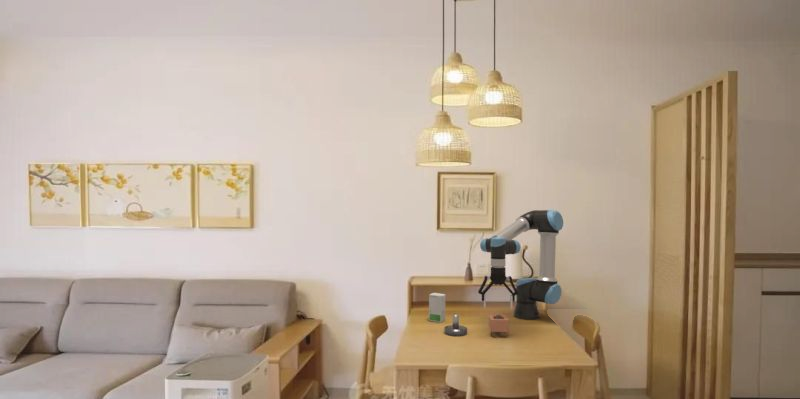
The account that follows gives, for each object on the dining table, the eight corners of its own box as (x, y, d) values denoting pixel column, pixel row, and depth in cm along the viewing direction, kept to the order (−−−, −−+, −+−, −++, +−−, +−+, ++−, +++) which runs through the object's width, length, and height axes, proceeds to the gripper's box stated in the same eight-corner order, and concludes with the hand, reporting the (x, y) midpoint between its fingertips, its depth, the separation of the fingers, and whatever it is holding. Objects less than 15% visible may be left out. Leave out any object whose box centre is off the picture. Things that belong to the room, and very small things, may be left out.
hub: (466, 329, 228) (466, 312, 228) (468, 336, 216) (467, 318, 216) (444, 329, 229) (444, 311, 229) (444, 336, 217) (444, 317, 218)
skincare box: (428, 321, 247) (428, 294, 247) (432, 318, 252) (432, 292, 253) (441, 322, 243) (441, 295, 243) (446, 320, 248) (445, 293, 249)
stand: (504, 333, 222) (504, 314, 222) (506, 337, 215) (506, 317, 215) (491, 332, 222) (490, 313, 223) (492, 336, 215) (492, 317, 216)
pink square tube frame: (506, 327, 223) (506, 315, 223) (508, 332, 214) (508, 320, 214) (488, 326, 224) (488, 315, 224) (490, 331, 215) (490, 319, 215)
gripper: (521, 266, 222) (521, 306, 221) (473, 265, 224) (473, 305, 224) (523, 268, 214) (524, 310, 214) (474, 267, 217) (474, 308, 216)
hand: (498, 307), depth 219 cm, fingers open, 13 cm apart
